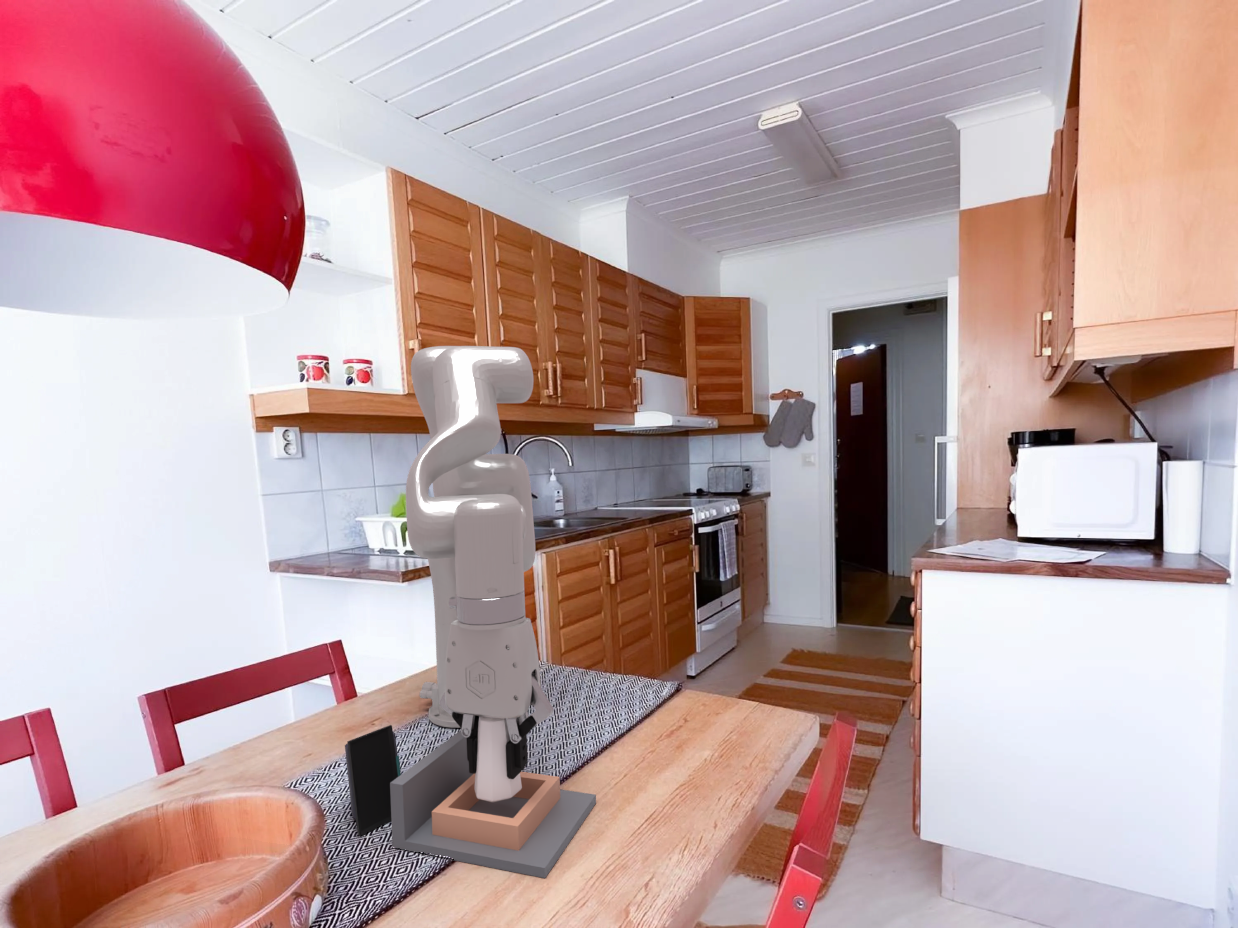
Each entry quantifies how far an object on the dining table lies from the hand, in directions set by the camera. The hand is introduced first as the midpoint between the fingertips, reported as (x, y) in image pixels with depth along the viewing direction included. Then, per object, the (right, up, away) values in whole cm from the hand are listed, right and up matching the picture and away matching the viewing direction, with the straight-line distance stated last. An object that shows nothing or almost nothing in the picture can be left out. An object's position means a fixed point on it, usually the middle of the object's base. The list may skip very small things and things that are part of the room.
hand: (497, 768), depth 71 cm
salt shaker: (0, -3, 0) cm, 3 cm away
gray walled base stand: (0, -6, 0) cm, 6 cm away
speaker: (-16, -7, +3) cm, 17 cm away
